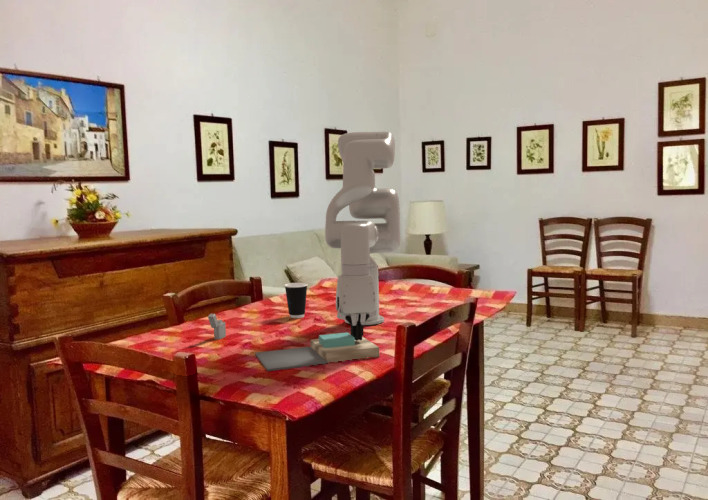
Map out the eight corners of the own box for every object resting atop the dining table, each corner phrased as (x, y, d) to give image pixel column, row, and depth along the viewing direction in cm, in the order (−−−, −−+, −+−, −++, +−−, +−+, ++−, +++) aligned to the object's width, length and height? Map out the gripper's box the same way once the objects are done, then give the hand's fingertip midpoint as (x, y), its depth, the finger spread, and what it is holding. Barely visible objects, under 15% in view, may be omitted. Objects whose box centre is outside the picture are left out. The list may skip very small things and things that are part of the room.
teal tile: (319, 342, 162) (318, 335, 162) (347, 339, 165) (347, 332, 165) (325, 348, 157) (324, 340, 157) (354, 344, 159) (354, 337, 159)
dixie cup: (313, 315, 209) (312, 283, 208) (300, 320, 202) (299, 287, 201) (294, 313, 213) (292, 282, 212) (280, 318, 206) (279, 285, 205)
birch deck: (310, 348, 166) (310, 339, 166) (359, 343, 171) (359, 334, 170) (327, 363, 152) (326, 353, 152) (379, 356, 157) (379, 347, 156)
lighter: (220, 336, 183) (219, 309, 182) (226, 336, 183) (224, 309, 182) (209, 341, 176) (207, 314, 175) (214, 342, 176) (213, 314, 175)
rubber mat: (255, 354, 162) (255, 352, 161) (310, 348, 167) (310, 346, 166) (267, 371, 147) (267, 369, 146) (327, 363, 152) (327, 361, 151)
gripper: (376, 266, 166) (378, 333, 168) (324, 270, 161) (326, 339, 163) (387, 270, 159) (388, 339, 161) (333, 274, 154) (334, 345, 156)
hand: (357, 339), depth 162 cm, fingers closed
